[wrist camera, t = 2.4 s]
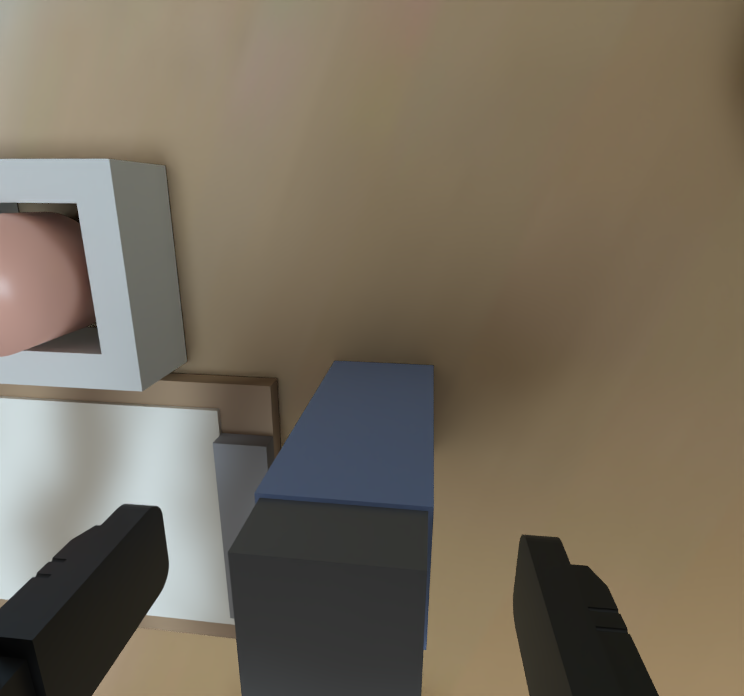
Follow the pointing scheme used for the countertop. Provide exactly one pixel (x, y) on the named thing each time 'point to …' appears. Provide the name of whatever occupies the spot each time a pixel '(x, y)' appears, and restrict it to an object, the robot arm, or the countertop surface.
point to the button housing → (107, 274)
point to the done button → (41, 280)
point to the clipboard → (138, 479)
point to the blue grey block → (342, 542)
